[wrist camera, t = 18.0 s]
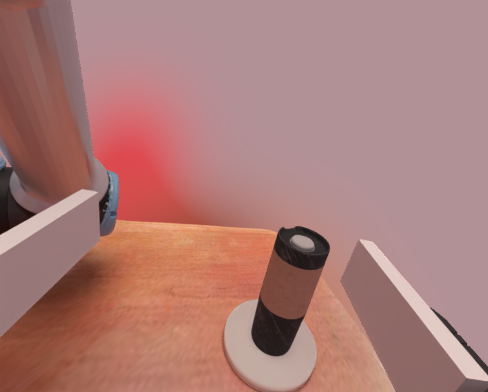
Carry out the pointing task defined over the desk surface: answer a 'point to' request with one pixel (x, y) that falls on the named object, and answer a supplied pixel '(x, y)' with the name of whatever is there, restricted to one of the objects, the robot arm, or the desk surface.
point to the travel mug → (288, 288)
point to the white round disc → (262, 365)
